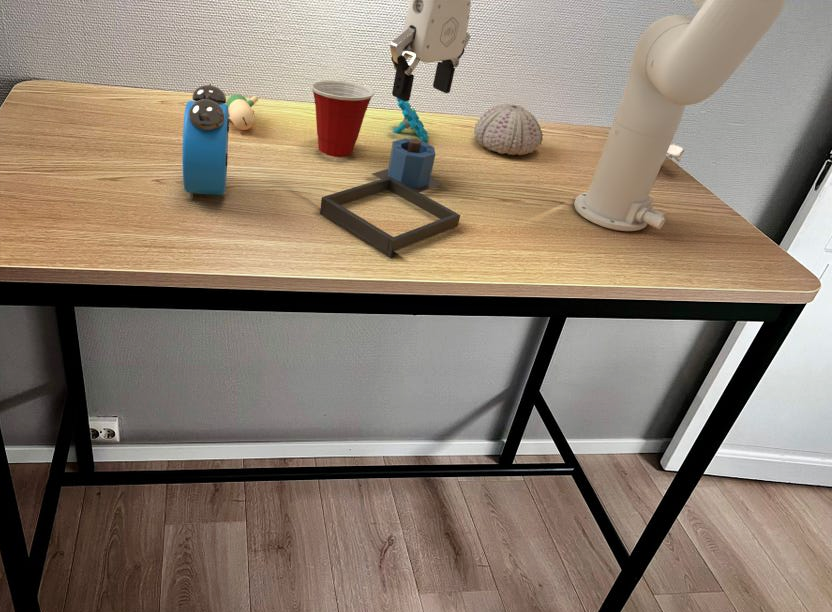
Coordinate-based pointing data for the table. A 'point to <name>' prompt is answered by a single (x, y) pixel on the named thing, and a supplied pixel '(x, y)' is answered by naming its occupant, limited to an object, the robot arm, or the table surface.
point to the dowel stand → (415, 148)
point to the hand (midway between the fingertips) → (421, 94)
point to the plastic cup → (339, 114)
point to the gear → (411, 121)
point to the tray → (375, 235)
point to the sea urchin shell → (508, 130)
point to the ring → (411, 164)
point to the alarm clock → (205, 142)
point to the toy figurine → (241, 111)
